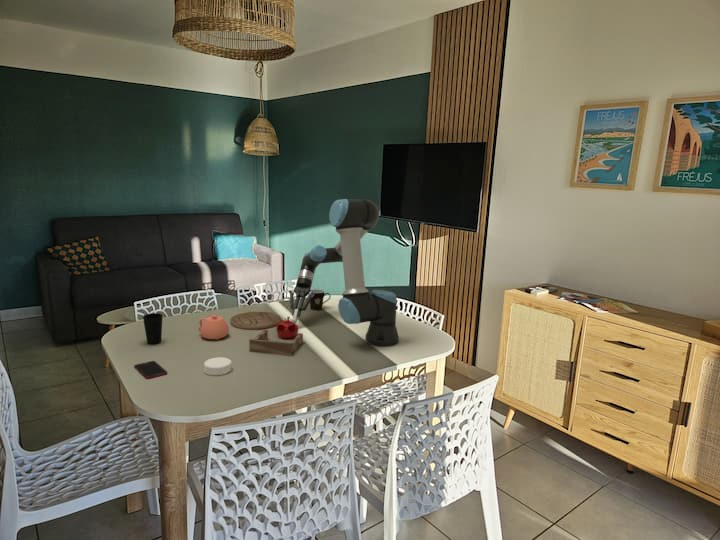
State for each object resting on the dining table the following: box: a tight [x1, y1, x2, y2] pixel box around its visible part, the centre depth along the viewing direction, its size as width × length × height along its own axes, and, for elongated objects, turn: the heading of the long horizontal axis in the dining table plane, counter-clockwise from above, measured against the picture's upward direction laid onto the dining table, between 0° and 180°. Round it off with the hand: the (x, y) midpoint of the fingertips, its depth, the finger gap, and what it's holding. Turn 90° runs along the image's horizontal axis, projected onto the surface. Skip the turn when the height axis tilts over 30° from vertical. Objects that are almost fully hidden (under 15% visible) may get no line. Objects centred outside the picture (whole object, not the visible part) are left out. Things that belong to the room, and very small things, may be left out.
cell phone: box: [133, 360, 169, 380], centre depth 177 cm, size 8×15×1 cm, turn 42°
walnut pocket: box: [248, 329, 304, 357], centre depth 205 cm, size 16×18×5 cm
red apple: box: [275, 316, 299, 339], centre depth 218 cm, size 10×10×9 cm
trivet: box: [229, 311, 282, 331], centre depth 237 cm, size 25×25×2 cm
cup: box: [142, 312, 163, 346], centre depth 204 cm, size 8×8×12 cm
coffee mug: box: [309, 288, 332, 311], centre depth 263 cm, size 12×9×10 cm
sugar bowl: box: [197, 314, 230, 341], centre depth 214 cm, size 12×14×10 cm
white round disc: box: [203, 356, 233, 376], centre depth 179 cm, size 10×10×4 cm
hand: (294, 322), depth 228 cm, fingers closed
